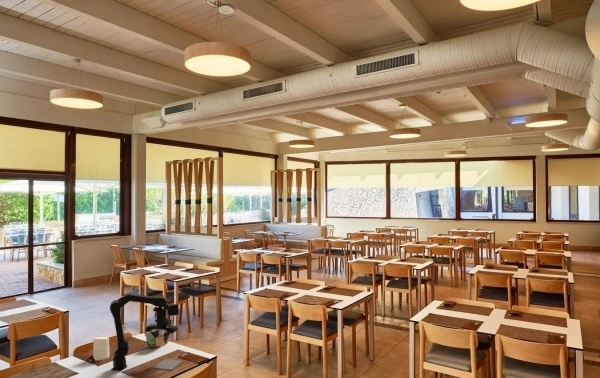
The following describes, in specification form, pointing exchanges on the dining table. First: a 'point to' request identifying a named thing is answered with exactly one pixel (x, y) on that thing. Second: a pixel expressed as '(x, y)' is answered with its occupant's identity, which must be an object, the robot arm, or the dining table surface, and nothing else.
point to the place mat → (168, 364)
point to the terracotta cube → (160, 340)
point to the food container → (152, 340)
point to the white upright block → (101, 348)
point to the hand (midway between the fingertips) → (161, 342)
